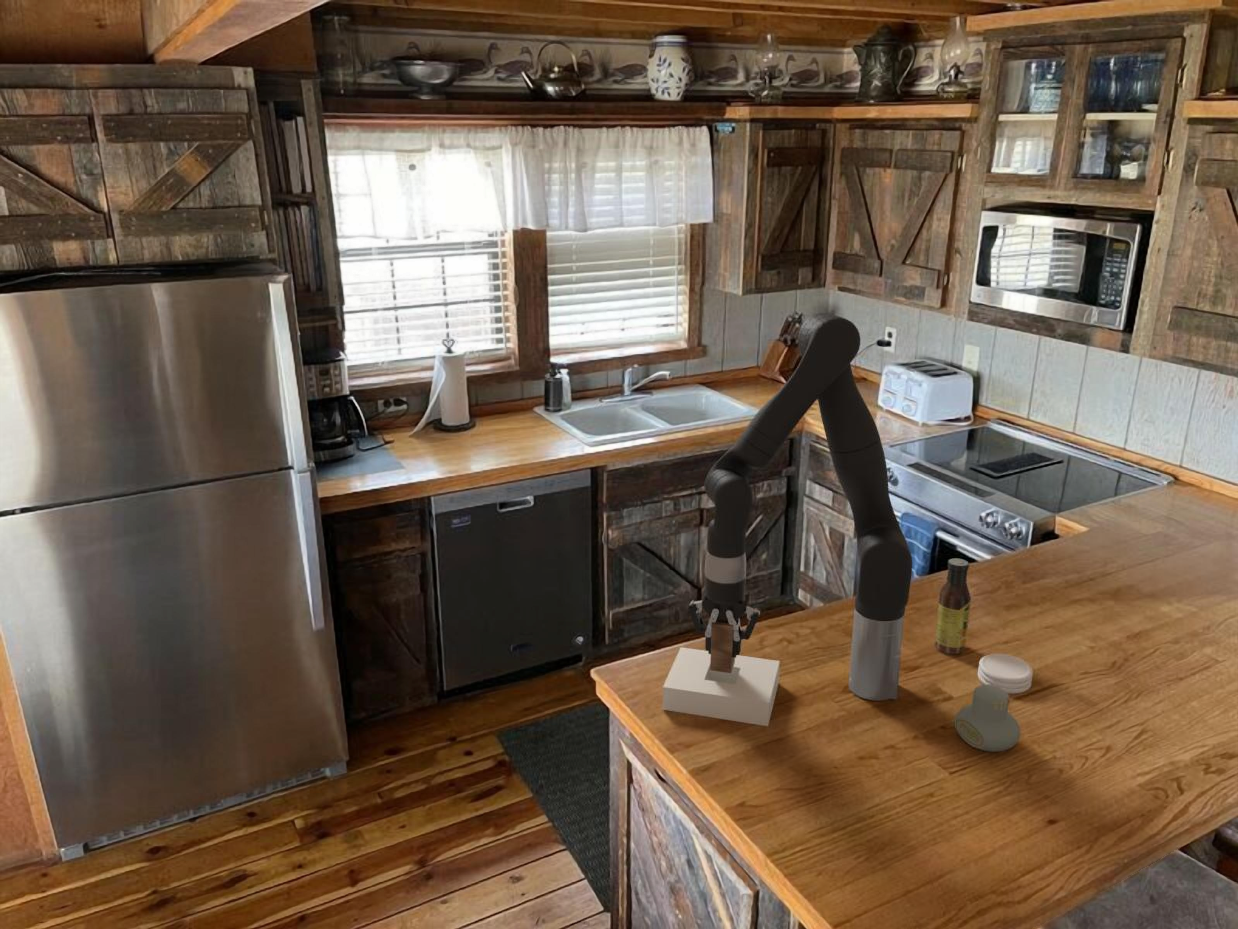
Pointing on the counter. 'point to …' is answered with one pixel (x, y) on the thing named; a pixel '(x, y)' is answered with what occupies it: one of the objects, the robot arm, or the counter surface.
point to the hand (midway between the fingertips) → (722, 653)
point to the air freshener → (988, 720)
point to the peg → (722, 647)
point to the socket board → (722, 688)
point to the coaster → (1005, 672)
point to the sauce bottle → (953, 609)
